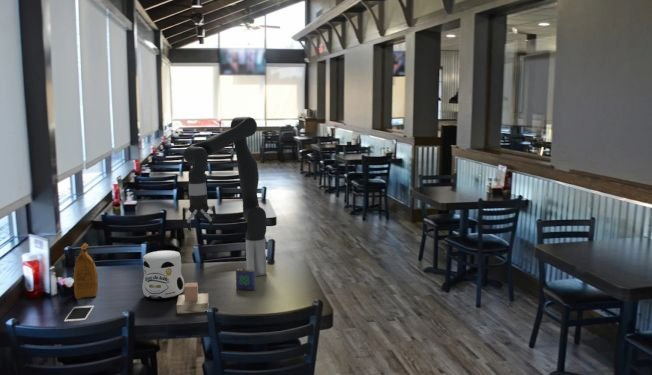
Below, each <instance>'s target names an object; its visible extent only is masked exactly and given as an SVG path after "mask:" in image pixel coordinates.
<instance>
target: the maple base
mask: <svg viewBox="0 0 652 375" xmlns="http://www.w3.org/2000/svg"><path fill="white" fill-rule="evenodd" d="M209 301H210V300H209V293H198V301H185V294H180V295H178V296H177V302H176V314H177V315H178V314H191V313H192V314H193V313H204V312H205V311H206V310H207V309H208V310H209V305H210V304H209ZM205 313H206V312H205Z"/></svg>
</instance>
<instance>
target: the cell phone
mask: <svg viewBox="0 0 652 375" xmlns="http://www.w3.org/2000/svg"><path fill="white" fill-rule="evenodd" d="M94 307H95V305H82V306H80V305H78V306H74V307H73V308H72V309H71V311H70V312H69V313H68V314H67V316H66V317H65V319H64V320H63V322H65V323H66V322H68V321H69V322H80V321H86V320H87V319H88V317H89V315H90V314H91V312H92V310H94Z"/></svg>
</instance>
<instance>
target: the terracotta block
mask: <svg viewBox="0 0 652 375" xmlns="http://www.w3.org/2000/svg"><path fill="white" fill-rule="evenodd" d="M198 289H199V286H198V282H184V290H183V292H184V295H185V301H198V294H199V290H198Z"/></svg>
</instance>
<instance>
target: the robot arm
mask: <svg viewBox="0 0 652 375" xmlns="http://www.w3.org/2000/svg"><path fill="white" fill-rule="evenodd" d="M257 124H258V123H257V121H256V119H254V118H253V117H251V116H237V117H234V118H232V119H231V123H230V129H228V130H225V131H221V132H219V133H216V134H214V135H212V136H210V137H208V138H206V139H205V140H203V141H201V142H197V143H194V144H192V145H191V144H190V146H188V147H186V149H184V151H183V159H184V161H186V162H187V163H189V164H193V168H192V169H190V170H188V173H187V174H188V175H187V176H188V199H189V207H185V206H184V207H182V211H181V212H182V222H183V223H186V224H187V226H186V227H187V230H188V231H189V232H192V223H191V221H192V219H193V218H194V217H195V218H198V217H202V218H203V217H205V218H206V219H207V220H208V224H209V225H208V227H209V231H210V230H212V229H213V222H214V220H217V213H216V211H217V210H216V205H213V204H212V205H210V206H209V205H208V191H207V190H208V189H207V184H206V170H207V165H208V159H209V156H212V155H215V154H217V153H218V152H219V151H221V150H223V149H225V148H226V147H228V146H230V145H232V144H233V145H234V151H235V156H236V164H237V172H238V178H239V179H238V180H239V184H240V190H241V196H242V216H243V219H244V220H245V221H246V222H247V231H246V232H245V257H246V263H245V264H246V265H245V266H247V270H255V272H256V273H255V277H260V276H264V275H267V254H266V233H267V213H266V211H265V209H264V208H263V207H261V206H260V204H259V198H258V187H259V180H260V179H259V176H260V175H259V168H258V163H257V160H256V159H255V156H254V155H253V154H252V152H251V150H250V149H249V147H248V143H247V138H248V137H252V136H254V134H256V132H257V130H258V129H257V128H258V125H257ZM209 210H210V212H212V216H211V215H210V214H209V213H208V211H209ZM188 211H189V213H190V215H189V216H188V218H186V217H187V216H186V214H187V213H188Z"/></svg>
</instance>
